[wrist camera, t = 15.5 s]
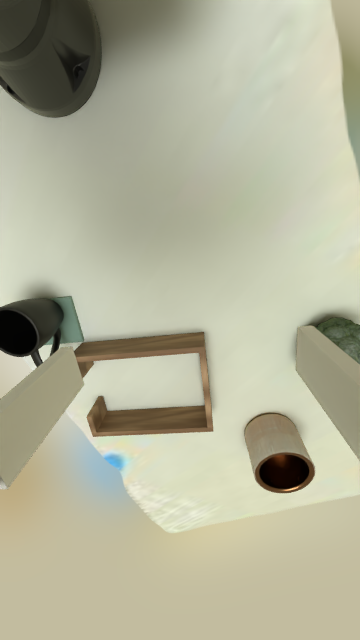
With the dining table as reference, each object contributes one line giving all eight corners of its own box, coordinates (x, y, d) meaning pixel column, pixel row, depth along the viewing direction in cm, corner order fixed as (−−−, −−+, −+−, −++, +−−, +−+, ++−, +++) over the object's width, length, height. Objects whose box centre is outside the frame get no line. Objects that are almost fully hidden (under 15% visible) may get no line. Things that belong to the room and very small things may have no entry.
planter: (244, 412, 50) (254, 451, 41) (297, 411, 49) (319, 451, 40) (243, 450, 54) (252, 493, 45) (292, 450, 53) (312, 494, 44)
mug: (52, 354, 48) (19, 382, 39) (19, 299, 44) (-26, 317, 35) (87, 342, 46) (61, 369, 37) (57, 285, 42) (19, 299, 34)
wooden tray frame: (82, 342, 47) (67, 358, 41) (203, 331, 44) (204, 346, 39) (104, 414, 53) (92, 436, 48) (211, 409, 51) (213, 431, 45)
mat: (26, 301, 45) (24, 302, 44) (71, 296, 44) (69, 297, 43) (41, 344, 48) (40, 345, 47) (84, 340, 47) (82, 341, 46)
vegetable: (341, 401, 45) (291, 400, 38) (323, 337, 50) (276, 326, 43) (425, 395, 36) (379, 392, 28) (393, 317, 41) (347, 297, 33)
